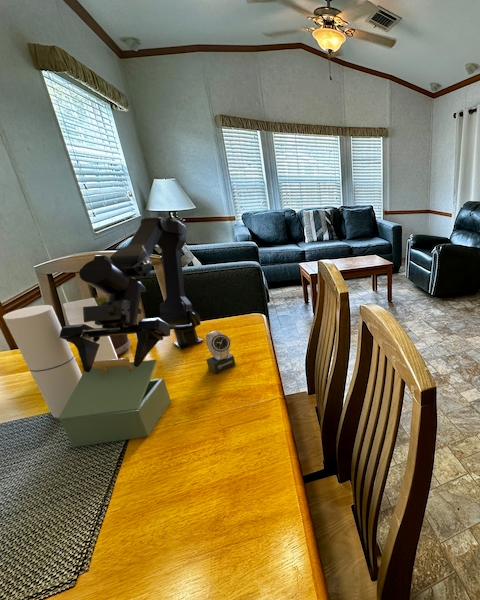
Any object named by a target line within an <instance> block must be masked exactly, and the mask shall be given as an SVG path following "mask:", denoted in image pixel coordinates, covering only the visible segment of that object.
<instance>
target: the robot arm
mask: <svg viewBox="0 0 480 600" xmlns="http://www.w3.org/2000/svg"><path fill="white" fill-rule="evenodd" d="M187 234H188V231H187V226H186V225H185V224H183V223H182V222H181V221H179V220H171V219H166V218H165V217H161V216H150V217H148V216H147V217H143V218H141V219H140V226H139V227H138V229H137V230H136V232H135V233H134V234H133V236H132V238H131V239H130V241H129V243H128V244H127V245H126V246H124V247H122V248H120V249H118V250H116V251H115V252H114V253H113V254H112V255H111V256H110V257H109V256H107V255H106V254H99V255H97V254H96V255H94V257H93V259H92V260H90V261H88V262H86V263H85V264H84V265H82V267H81V268H80V269H79V272H78V275H79V278H80V279H81V280H82V281H83V282H85V283H87V285H90V287H93V288H95V289H96V290H97V291H99V292H100V293H102V294H104V295H105V294H106V295H107V294H108V295H107V296H108V297H107V298H108V300H107V302H103V303H102V304H101V306H87V307H83V317H84V322H90V321H95V324H96V325H98V326H99V325H101V326H102V328H92V327H90V326H88V325H86V324H78V325H69V324H68V325H67V324H66V325H64V326H62V327H61V328H62V329H61V331H60V336H59V338H62V339H65V340H66V341H67V342H68V343H70V344H73V345H74V346H75V348H76V349H77V353H78V352H79V354H78V356H79V355H80V357H79V358H80V362H81V366H82V369H83V372H84V371H85V372H90V370H91V368H92V366H93V363H94V360H95V357H96V354H97V351H98V348H99V345H100V344H98V343H96V342H97V341H98V340H99V339H100V337H103V336H114V335H125V334H128V335H134V334H135V335H136V347H135V352H134V357H133V362H134V366H135V367H138V366H139V365H140V364H141V363H142V361H145V358H146V357H147V356H148V354H149V353H150V352H151V350H152V349H154V347H155V346H156V345H157V344H158V343H159V342H160V341H164V338H165V337H170V336H171V330H172V331H173V333H174V336H175V339H176V340H175V341H173V345H175V346H176V347H177V348H179V349H180V350H185V349H187V348H190V347H192V346H196V345H199V344H200V343H203V342H204V340H203V339H202V338H200V337H199V336H198V334H197V329H196V328H197V327H198V326H201V315H200V314H199V313H198V312H196V311H195V310H194V309H193V304H192V302H191V301H190V300H189V299H188V298H187V297H186V293H185V283H184V282H185V281H184V272H183V261H182V260H183V259H182V252H181V251H182V249H183V248H184V246H185V244H186V242H187V237H186V236H187ZM156 245H157V246H158V248H159V249H160V250H161V257H162V268H163V275H164V276H163V277H164V287H165V299H164V301H163V302H160V303H159V306H158V307H159V312H160V313H159V317H153V318H152V317H151V318H141V319H140V320H138V315H142V312H143V309H141V308H140V303H141V302H140V301H141V295H142V293H145V292H147V289H146V287H145V285H143V284H142V282H141V281H140V280H138V279H136V278H145V277H148V276H149V275H150V273H151V271H152V268H153V264H154V263H153V261H152V259H151V255H152V253H153V251H154V250H155V247H156ZM137 320H138V323H137Z"/></svg>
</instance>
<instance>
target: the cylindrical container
mask: <svg viewBox="0 0 480 600" xmlns="http://www.w3.org/2000/svg"><path fill="white" fill-rule="evenodd" d="M2 318H3V320H4V322H5V324H6V327H7V328H8V331H9V332H10V334H11V336H12V338H13V340H14V342H15V344H16V346H17V348H18V350H19V352H20V354H21V357H22V358H23V360H24V362H25V364H26V366H27V368H28V370H29V372H30V374H31V376H32V378H33V379H34V382H35V384H36V386H37V388H38V390H39V392H40V394H41V396H42V398H43V400H44V402H45V404H46V406H47V408H48V410H49V412H50V414H51V416H52V417H53V418H55V419H58V418H59V416H60V414H61V413H62V411H63V409H64V407H65V405H66V404H67V402H68V400H69V398H70V396H71V395H72V393H73V391H74V389H75V387H76V386H77V384H78V382H79V380H80V378H81V377H82V375H83V373H82V371H81V370H80V367H79V365H78V362H77V361H76V358H75V356H74V353H73V351H72V348H71V346H70V344H69V342H67V341H66V340H65V339H62V338H59V336H60V331H61V329H62V328H63V327H62V326H61V323H60V321H59V318H58V315H57V313H56V312H55V309H54V307H53V305H52V304H51V305H50V304H39V305H33V306H28V307H22V308H18V309H15V310H12V311H9V312H8V313H5V314H4V315H3V316H2Z"/></svg>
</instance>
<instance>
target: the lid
mask: <svg viewBox="0 0 480 600" xmlns="http://www.w3.org/2000/svg"><path fill="white" fill-rule="evenodd" d="M157 363H158V361H157V359H150V360H143V361H142V363H141V364H140V365H139V366H138V367H135V366H134V361H130V358H129V357H124V358H123V357H122V358H118V359H112V360H103V361H95V362H94V363H93V366H92V368H91V370H90V372H85V371H84V370H83V373H82V377H81V378H80V380H79V382H78V384H77V386H76V387H75V389H74V391H73V393H72V395H71V396H70V398H69V400H68V402H67V404H66V405H65V407H64V409H63V411H62V413H61V414H60V416H59V418H57V419H58V420H59V421H61V420H66V419H74V418H81V417H89V416H96V415H104V414H111V413H119V412H126V411H134V410H139V407H140V405H141V402H142V399H143V397H144V394H145V392H146V389H147V386H148V384H149V381H150V380H151V378H152V376H153V373H154V371H155V368H156V365H157Z"/></svg>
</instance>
